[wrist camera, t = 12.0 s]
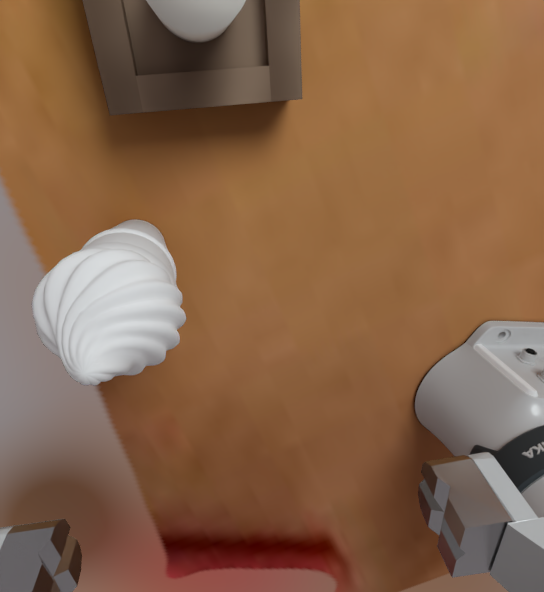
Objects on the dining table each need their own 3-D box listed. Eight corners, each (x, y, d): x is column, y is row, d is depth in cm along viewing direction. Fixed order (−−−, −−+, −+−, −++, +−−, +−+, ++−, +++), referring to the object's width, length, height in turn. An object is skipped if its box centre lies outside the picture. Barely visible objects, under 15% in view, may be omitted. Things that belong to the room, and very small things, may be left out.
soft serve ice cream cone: (120, 170, 31) (52, 256, 17) (211, 235, 34) (217, 351, 20) (63, 253, 33) (-37, 388, 19) (154, 306, 36) (124, 453, 23)
